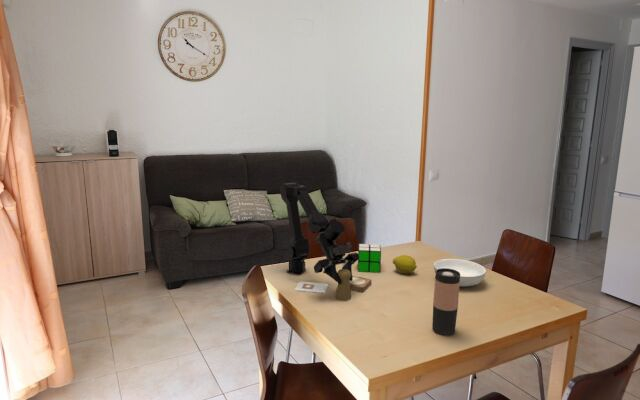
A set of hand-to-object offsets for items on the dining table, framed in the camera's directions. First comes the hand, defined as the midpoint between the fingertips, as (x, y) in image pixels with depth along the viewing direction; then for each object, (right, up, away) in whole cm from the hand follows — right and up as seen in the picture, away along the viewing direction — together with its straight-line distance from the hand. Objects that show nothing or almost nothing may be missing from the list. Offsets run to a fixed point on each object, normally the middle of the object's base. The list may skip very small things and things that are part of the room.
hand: (346, 282), depth 166 cm
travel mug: (+30, -12, -22) cm, 39 cm away
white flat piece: (-13, -4, +11) cm, 18 cm away
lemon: (+28, -2, +29) cm, 40 cm away
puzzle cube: (+12, 0, +34) cm, 37 cm away
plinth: (+5, -4, +14) cm, 15 cm away
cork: (-1, -6, +2) cm, 7 cm away
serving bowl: (+48, -4, +20) cm, 52 cm away
